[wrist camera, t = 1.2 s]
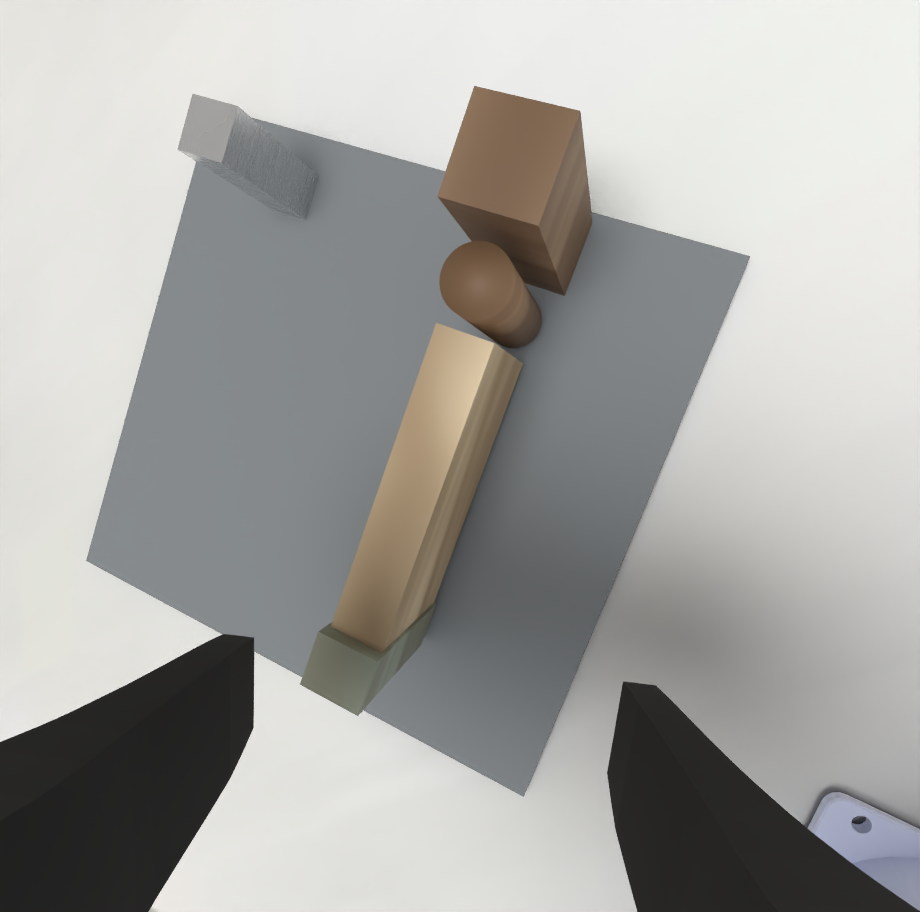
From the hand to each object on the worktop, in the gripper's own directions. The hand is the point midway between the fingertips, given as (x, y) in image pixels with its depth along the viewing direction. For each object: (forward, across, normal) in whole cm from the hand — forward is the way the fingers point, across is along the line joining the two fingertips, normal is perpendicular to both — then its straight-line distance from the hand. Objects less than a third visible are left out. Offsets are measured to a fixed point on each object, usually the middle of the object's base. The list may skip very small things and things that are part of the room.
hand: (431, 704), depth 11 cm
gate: (+9, 0, -2) cm, 9 cm away
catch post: (+13, +7, -11) cm, 18 cm away
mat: (+11, +4, -3) cm, 12 cm away
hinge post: (+10, -2, -10) cm, 14 cm away
